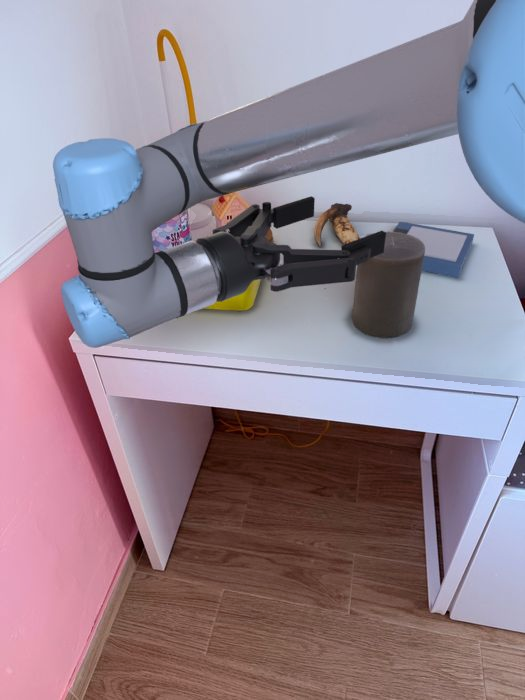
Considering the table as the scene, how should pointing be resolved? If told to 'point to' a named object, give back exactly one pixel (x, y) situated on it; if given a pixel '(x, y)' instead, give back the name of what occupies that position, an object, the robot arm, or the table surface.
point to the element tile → (239, 299)
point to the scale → (440, 247)
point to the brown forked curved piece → (337, 223)
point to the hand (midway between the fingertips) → (345, 222)
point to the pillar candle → (389, 287)
